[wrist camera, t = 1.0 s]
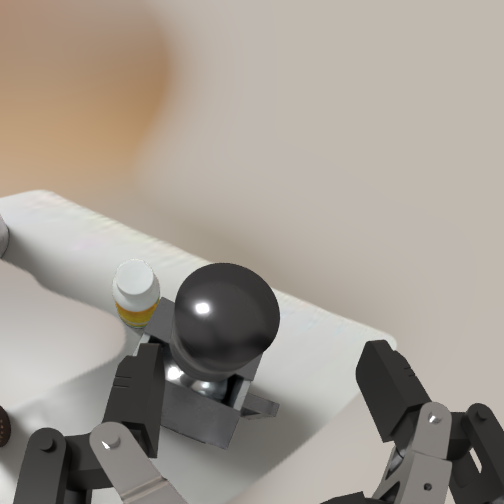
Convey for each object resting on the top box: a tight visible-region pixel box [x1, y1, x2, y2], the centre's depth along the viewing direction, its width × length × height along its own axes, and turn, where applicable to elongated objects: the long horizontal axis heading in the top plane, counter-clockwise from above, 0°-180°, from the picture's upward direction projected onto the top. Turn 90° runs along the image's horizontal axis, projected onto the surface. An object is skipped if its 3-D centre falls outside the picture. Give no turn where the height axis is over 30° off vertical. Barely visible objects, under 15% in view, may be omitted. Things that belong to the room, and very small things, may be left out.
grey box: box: [132, 297, 279, 450], centre depth 29 cm, size 13×10×14 cm
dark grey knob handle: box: [162, 263, 280, 403], centre depth 19 cm, size 7×7×18 cm
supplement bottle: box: [112, 259, 160, 328], centre depth 34 cm, size 5×5×10 cm
